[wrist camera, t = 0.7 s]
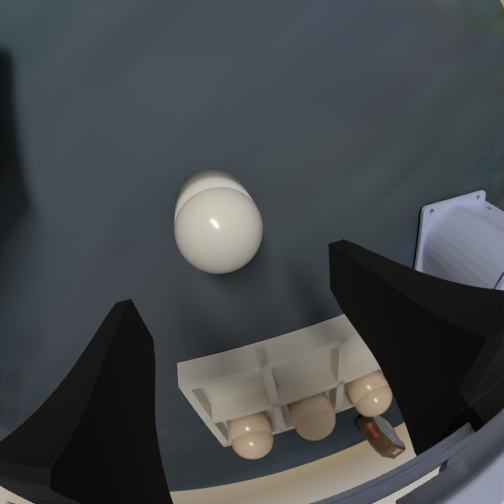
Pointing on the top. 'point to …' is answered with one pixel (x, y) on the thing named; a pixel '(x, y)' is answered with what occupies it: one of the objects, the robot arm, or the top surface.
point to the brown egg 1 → (251, 435)
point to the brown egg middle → (313, 417)
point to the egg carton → (276, 375)
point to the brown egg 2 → (370, 394)
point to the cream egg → (216, 222)
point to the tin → (381, 436)
